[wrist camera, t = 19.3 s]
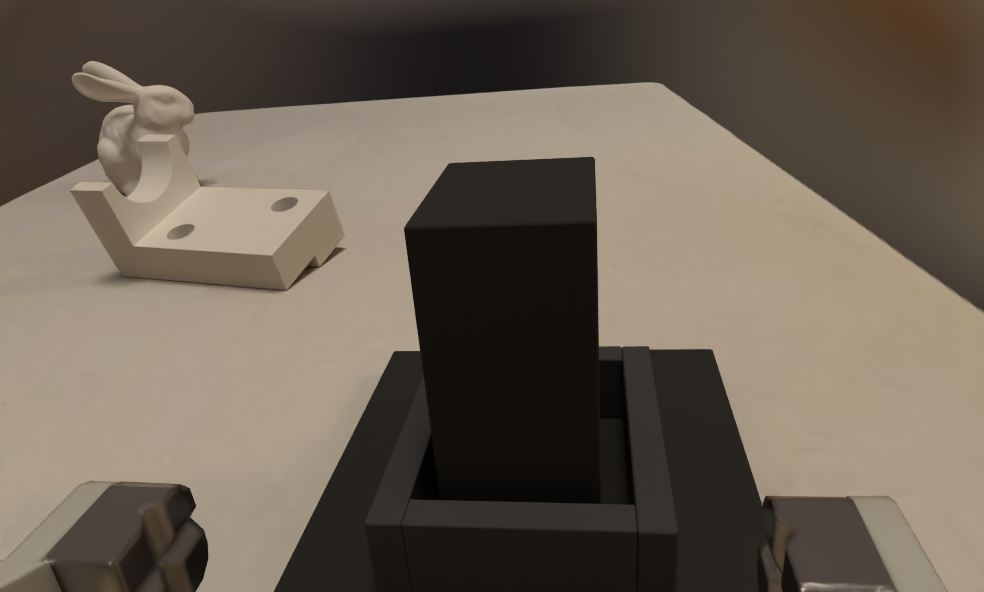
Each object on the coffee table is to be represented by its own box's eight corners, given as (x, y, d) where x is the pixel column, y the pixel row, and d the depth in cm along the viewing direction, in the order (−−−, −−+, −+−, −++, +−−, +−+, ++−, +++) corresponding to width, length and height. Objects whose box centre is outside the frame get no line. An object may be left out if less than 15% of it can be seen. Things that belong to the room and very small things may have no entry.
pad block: (598, 431, 26) (594, 156, 21) (601, 556, 20) (597, 220, 16) (475, 430, 26) (448, 162, 22) (446, 551, 21) (402, 226, 17)
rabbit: (223, 185, 67) (191, 52, 62) (124, 213, 61) (80, 68, 56) (162, 171, 75) (129, 51, 70) (68, 195, 69) (25, 65, 64)
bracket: (128, 287, 48) (69, 190, 43) (192, 227, 53) (145, 134, 48) (291, 302, 44) (245, 196, 39) (344, 235, 49) (309, 134, 44)
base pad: (710, 372, 31) (715, 295, 29) (846, 823, 15) (873, 702, 13) (397, 373, 33) (386, 300, 31) (211, 770, 17) (169, 661, 15)
